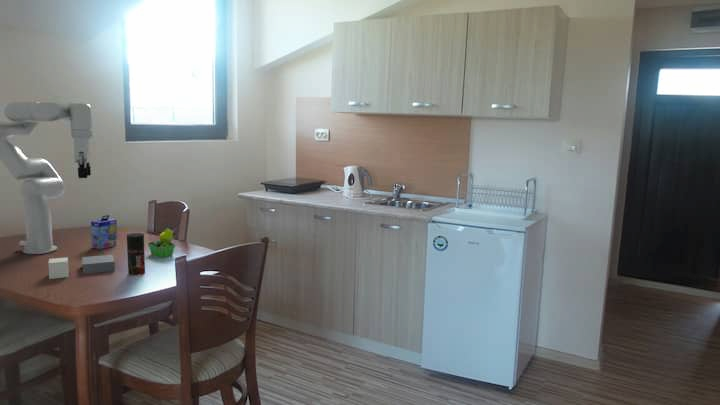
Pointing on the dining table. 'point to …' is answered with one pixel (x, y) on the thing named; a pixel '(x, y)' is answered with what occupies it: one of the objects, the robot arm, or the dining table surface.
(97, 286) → the dining table surface
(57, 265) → the cream cube
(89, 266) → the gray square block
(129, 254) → the deodorant
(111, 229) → the ink cartridge box
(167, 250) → the green potted plant
